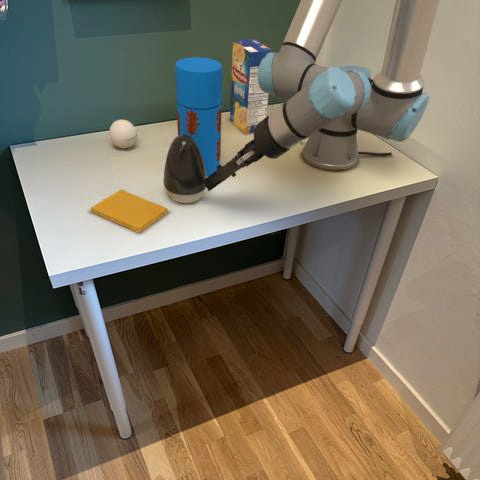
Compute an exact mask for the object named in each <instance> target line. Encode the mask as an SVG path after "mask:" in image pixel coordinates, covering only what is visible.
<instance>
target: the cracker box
mask: <svg viewBox="0 0 480 480" xmlns="http://www.w3.org/2000/svg"><path fill="white" fill-rule="evenodd" d="M271 52H272V53H274V50H273V49H271V48H270V47H268V46H267V45H265V44H263V43H262V42H260V41H259V40H257V39H255V38H251V39H241V40H233V41H232V59H231V60H232V63H231V82H230V83H231V86H230V112H229V114H230V115H229V117H230V118H229V120H230V122H231V123H232V124H234V125H235V126H236V127H238V129H240V130H241V132H243V133H244V134H245V135H246V134H254V128H255V126H256V125H257V124H258V123H259V122H261V121H262V120H263V119H264V118H266V117H267V116H268V108H269V98H270V94H268V93H266V92H264V91H262V90H261V88H260V86H259V84H258V69H259V66H260V63H261V61H262V59H263V58H265V56H266V55H267V54H268V53H271Z"/></svg>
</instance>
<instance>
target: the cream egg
mask: <svg viewBox="0 0 480 480" xmlns="http://www.w3.org/2000/svg"><path fill="white" fill-rule="evenodd" d="M108 131H109V133H108V134H109V138H110V141H111V142H112V144H114V145H115V146H116V147H117V148H119V149H128V148H131V147H132V146H134V144H135V143H136V141H137V139H138V133H137V129H136V127H135V126H134V124H133V123H132V122H130V121H129V120H127V119H117V120H115V121H113V122H112V124H111V125H110V127H109V130H108Z"/></svg>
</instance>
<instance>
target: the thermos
mask: <svg viewBox="0 0 480 480" xmlns="http://www.w3.org/2000/svg"><path fill="white" fill-rule="evenodd" d="M174 72H175V73H174V74H175V75H174V76H175V77H174V78H175V96H176V97H175V98H176V99H175V101H176V121H177V136H179V135H183V134H184V135H189V136H191V137H192V138H193V139H194V140H195V142H196V143H197V145H198V147H199V149H200V151H201V154H202V157H203V161H204V165H205V169H206V175H207V177H208V176H210V175H211V174H212V173H214V172H215V171H216V170H218V169H217V166H218V165H221V150H222V112H223V111H222V110H223V108H222V106H223V105H222V104H223V66H222V63H221V62H219V60H215V59H213V58H208V57H198V56H197V57H186V58H181V59H179V60H178V61H176V62H175V71H174Z"/></svg>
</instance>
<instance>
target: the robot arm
mask: <svg viewBox="0 0 480 480" xmlns="http://www.w3.org/2000/svg"><path fill="white" fill-rule="evenodd" d="M440 1H441V0H395V4H394V9H393V13H392V17H391V18H392V19H391V22H390V23H391V24H390V28H389V32H388V37H387V43H386V48H385V53H384V58H383V63H382V67H381V70H380V71H378V72H377V73H376V74H375V75H374V76H373V78H371V77H372V74H371V70H370V69H368V68H367V67H364V66H358V65H341V66H332V67H327V66H323V65H320V64H317V63H316V61H317V59H318V57H319V54H320V53H321V50H322V48H323V46H324V43H325V42H326V38H327V36H328V35H329V32H330V30H331V28H332V25H333V23H334V21H335V18H336V16H337V14H338V11H340V7H341V5H342V3H343V0H300V2H299V4H298V6H297V8H296V10H295V14H294V16H293V18H292V21H291V22H290V24H289V27H288V30H287V33H286V35H285V37H284V40H283V42H282V44H281V46H280V48H279V51H278V52H277V51H276V52H273V53H272V52H271V53H268V54H267V55H266V56H265V58H263V59H262V61H261V63H260V66H259V69H258V84H259V86H260V88H261V90H262V91H264V92H266V93H268V94H269V95H271V96H274V97H275V98H278V99H283V100H286V101H284V102H282V104H280V105H279V106H278V107H276V108H275V109H274V110H273V111H272V112H270V113H269V115H267V117H266V118H264V119H263V120H262V121H261V122H259V123H258V124H257V125H256V126H255V128H254V133H253V139H252V140H250V141H248V142H247V143H245V144H244V146H243V148H241V149H240V150H238V151H237V153H236V155H234V157H233V158H232V159H230V160H229V161H227V162H226V163H225V164H224V165H221V164H220V165H218V166H217V169H218V170H216V171H215V172H214V173H212V174H211V175H210V176H208V177H207V178H206V179H204V180H203V181H202V182H203V183H204V185H205V186H206V188H205V189H207V191H208V192H210V191H212V190H213V189H214V188H216V187H218V186H219V185H220V184H223V182H225V181H226V180H227V179H229V178H230V177H232V178H235V177H236V176H237V173H236V172H238V171H239V170H241V169H244V168H245V167H246V168H248V167H249V166H250V165H252V164H253V163H257V162H258V161H260V160H261V159H262V158H264V157H267V158H269V159H273V160H275V159H278V158H280V157H281V156H283V155H285V153H287V152H288V151H290V149H292V148H294V147H296V146H298V144H299V145H300V146H303V145H304V146H303V151H302V158H303V160H304V161H305V162H306V163H307V164H309V165H310V166H312V167H315V168H317V169H320V170H325V171H330V172H331V171H332V172H339V171H346V170H349V169H352V168H354V167H355V166H356V165H357V164H358V163H357V162H358V160H359V155H362V156H373V157H386V156H392V155H393V152H373V151H371V152H370V151H359V148H358V146H359V145H358V135H357V134H358V130H359V131H363V132H365V133H369V134H372V135H374V136H378V137H380V138H383V139H385V140H387V141H388V140H389V141H390V140H391V141H394V142H398V143H402V142H405V141H407V140H408V139H409V138H410V136H411V135H412V134H413V133H414V132H415V130H416V128H417V127H418V125H419V123H420V122H421V120H422V118H423V116H424V114H425V111H426V109H427V107H428V104H429V98H430V96H429V94H427V93H426V92H423V90H424V87H425V79H424V78H423V77H422V75H421V71H422V68H423V65H424V60H425V57H426V53H427V49H428V46H429V42H430V38H431V34H432V31H433V26H434V23H435V19H436V15H437V11H438V7H439V4H440ZM306 139H307V140H306Z"/></svg>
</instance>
